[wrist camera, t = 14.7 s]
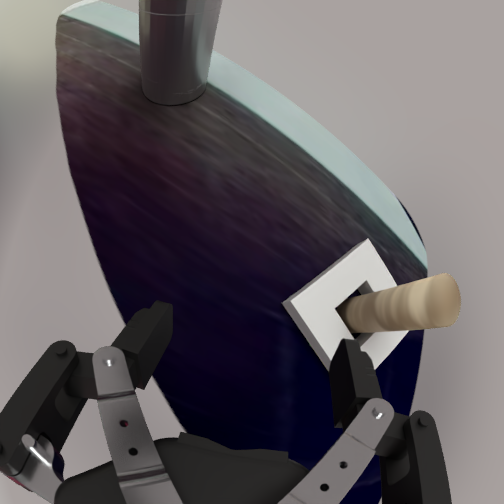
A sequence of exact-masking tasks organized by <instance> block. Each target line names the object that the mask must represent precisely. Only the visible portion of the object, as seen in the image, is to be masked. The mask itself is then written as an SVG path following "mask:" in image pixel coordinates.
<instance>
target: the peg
mask: <svg viewBox="0 0 504 504" xmlns="http://www.w3.org/2000/svg"><path fill="white" fill-rule="evenodd" d="M460 306H461V298H460V292H459V289H458V285H457V283H456V281H455V280H454V278H453V277H452V276H451V275H449V274H446V273H442V274H439V275H436V276H432V277H429V278H425V279H422V280H418V281H414V282H411V283H407V284H404V285H400V286H396V287H392V288H388V289H385V290H381V291H377V292H373V293H368V294H364V295H360V296H356V297H352V298H347V299H345V300H344V301H343V302H342V303H340V304H339V306H338V308H337V310H336V312H337V313H338V315H339V316H340V318H341V319H342V321H343V322H344V324H345V326H346V327H347V329H348V330H349V332H350V333H370V332H391V331H406V330H419V329H430V328H441V327H448V326H451V325H453V324H454V323H455V321H456V320H457V318H458V315H459V312H460Z"/></svg>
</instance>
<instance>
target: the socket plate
mask: <svg viewBox="0 0 504 504" xmlns="http://www.w3.org/2000/svg"><path fill="white" fill-rule="evenodd" d="M396 286H397V285H396V283H395V281H394V280H393V278H392V276H391V274H390V273H389V271H388V269H387V268H386V266H385V264H384V263H383V261H382V260H381V258H380V256H379V255H378V253H377V252H376V250H375V248H374V247H373V245H372V244H371V242H370V241H369V239H366V240H365V241H363V242H361V243H359V244H357V245H356V246H354V247H353V248H352V249H351V250H350V251H348V252H347V253H346V254H345V255H343V256H342V257H341V258H340V259H338V260H337V261H336V262H335V263H333V264H332V265H331V266H330V267H328V268H327V269H326V270H325V271H323V272H322V273H321V274H319V275H318V276H317V277H316V278H314V279H313V280H312V281H310V282H309V283H308V284H306V285H305V286H304V287H303V288H301V289H300V290H299V291H297V292H296V293H295V294H293V295H292V296H291V297H289V298H288V299H287V300H285V301H284V302H283V303H282V304H283V306H284V307H285V309H286V310H287V312H288V313H289V314H290V316H291V317H292V319H293V320H294V322H295V323H296V325H297V326H298V328H299V329H300V330H301V332H302V333H303V335H304V336H305V338H306V339H307V341H308V342H309V344H310V345H311V347H312V348H313V349H314V351H315V352H316V354H317V355H318V357H319V358H320V360H321V361H322V363H323V364H324V365H325V367H326V368H327V370H328V371H329V367H330V363H331V360H332V358H333V356H334V354H335V352H336V349H337V347H338V345H339V343H340V341H341V339H342V338H345V339H353V340H354V338H353V337H352V335H351V333H350V332H349V330H348V329H347V327H346V326H345V324H344V322H343V321H342V319H341V318H340V316H339V315H338V313H337V312H336V310H335V308H336V307H337V306H338V305H339V304H340V303H342V302H343V301H344V300H345V299H346V298H347V297H348V296H349V295H351V294H352V293H353V292H354V291H355V290H356V289H358V290H359V292H360V294H361V295H364V294H368V293H373V292H377V291H381V290H385V289H388V288H392V287H396ZM408 331H409V330H406V331H391V332H370V333H361V334H360V335H359V336H358V337H357V338H356V339H355V340H358V341H359V345H360V348H361V351H365V352H366V353H367V354H368V355H369V356H370V358H371V359H372V362H373V365H374V369H376V368H377V367H378V366H379V365H380V364H381V362H382V361H383V360H384V359H385V358H386V357H387V356H388V355H389V354H390V352H391V351H392V350H393V349H394V348H395V347H396V346H397V344H398V343H399V342H400V341H401V340H402V338H403V337H404V336H405V335H406V334H407V332H408Z"/></svg>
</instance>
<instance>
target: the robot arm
mask: <svg viewBox="0 0 504 504" xmlns="http://www.w3.org/2000/svg"><path fill="white" fill-rule="evenodd" d="M221 4H222V0H139V41H140V63H141V79H142V90H143V93H144V95H145V96H146V97H147V98H148V99H149V100H151V101H153V102H155V103H159V104H164V105H177V104H183V103H187V102H190V101H192V100H194V99H196V98H197V97H199V96H200V95H201V94H202V93H203V92H204V90H205V88H206V83H207V77H208V71H209V66H210V60H211V54H212V49H213V43H214V38H215V32H216V28H217V23H218V18H219V13H220V9H221ZM172 332H173V307H172V304H169V303H165V302H161V301H155V303H154V304H153V305H152V307H151V308H150V309H147V308H143V309H142V310H140V311H138V312H136V313H135V314H134V316H133V317H132V318H131V320H130V321H129V322H128V324H127V325H126V327H124V329H123V330H122V332H121V333H120V334H119V335H118V337H117V338H116V339H115V341H114V342H113V343H112V345H111V346H108V347H107V346H106V347H102V348H100V349H98V350H97V351H96V352H95V353H85V352H77V351H76V348H75V346H74V345H73V344H72V343H71V342H69V341H57V342H55V343H53V344H52V345H50V347H49V348H48V349H47V350H46V352H45V353H44V354H43V355H42V357H41V358H40V359H39V361H38V362H37V363H36V364H35V365H34V367H33V368H32V369H31V371H30V372H29V374H28V375H27V376H26V377H25V379H24V380H23V381H22V383H21V384H20V386H19V387H18V388H17V390H16V391H15V393H14V394H13V395H12V397H11V398H10V400H9V401H8V403H7V404H6V406H5V407H4V409H3V410H2V412H1V413H0V471H1V472H2V473H3V474H4V475H5V476H7V477H8V478H9V479H11V480H12V481H14V482H15V483H16V484H18V485H21V486H22V487H24V488H25V489H27V490H28V491H31V492H35V493H36V494H37V495H39V496H41V497H42V498H44V499H45V500H47V501H49V502H50V503H52V504H339V502H340V501H341V500H342V499H343V498H344V496H345V495H346V494H347V492H348V491H349V490H350V489H351V487H352V486H353V485H354V483H355V482H356V481H357V479H358V478H359V476H360V475H361V474H362V472H363V471H364V469H365V468H366V466H367V465H368V463H369V462H370V460H371V459H372V457H373V456H374V454H376V455H379V459H380V471H381V488H382V504H452V502H451V494H450V488H449V482H448V476H447V471H446V466H445V462H444V456H443V452H442V448H441V443H440V440H439V435H438V431H437V428H436V424H435V421H434V419H433V417H432V416H431V415H430V414H429V413H427V412H425V411H415V412H414V413H413V414H412V415H411V416H410V417H409V416H405V415H402V414H398V413H395V412H394V410H393V408H392V406H391V405H390V404H389V403H388V402H387V401H385V400H383V399H382V395H381V391H380V387H379V384H378V380H377V376H376V373H375V369H374V365H373V362H372V359H371V358H370V356H369V355H368V354H367V353H366V352H365V351H361V348H360V345H359V341H358V340H353V339H345V338H342V339H341V341H340V343H339V345H338V347H337V349H336V352H335V354H334V356H333V358H332V360H331V363H330V367H329V377H330V386H331V395H332V405H333V416H334V428H343V433H342V435H341V436H340V437H339V438H338V439H337V441H336V442H335V443H334V444H333V445H332V447H331V448H330V449H329V450H328V451H327V452H326V453H325V455H324V456H323V457H322V458H321V459H320V460H319V461H318V462H317V463H316V464H315V466H314V467H313V468H312V469H311V470H310V471H309V470H308V469H307V468H305V467H304V466H302V465H301V464H299V463H297V462H295V461H293V460H290V459H288V452H283V451H274V450H266V449H254V450H231V449H229V448H226V447H224V446H222V445H220V444H217V443H215V442H213V441H211V440H209V439H207V438H203V437H199V436H195V435H191V434H187V433H184V432H180V435H179V438H162V439H158V440H155V441H153V440H152V437H151V435H150V433H149V430H148V427H147V424H146V422H145V419H144V417H143V413H142V411H141V408H140V405H139V402H138V399H137V396H136V393H135V389H136V387H137V388H140V389H143V390H144V389H145V387H146V385H147V383H148V381H149V379H150V378H151V376H152V374H153V372H154V370H155V368H156V366H157V364H158V362H159V361H160V359H161V357H162V355H163V353H164V351H165V349H166V347H167V346H168V344H169V342H170V340H171V337H172ZM88 398H89V399H96V400H97V402H98V407H99V411H100V416H101V420H102V424H103V429H104V432H105V436H106V440H107V444H108V447H109V451H110V454H111V457H112V461H109V462H107V463H105V464H102V465H101V466H98V467H95V468H93V469H90V470H88V471H86V472H83V473H80V474H78V475H75V476H72V477H70V478H68V479H66V480H65V481H64V478H63V470H64V460H63V457H62V455H61V454H60V451H61V449H62V447H63V445H64V443H65V441H66V439H67V437H68V435H69V433H70V431H71V429H72V428H73V426H74V423H75V422H76V420H77V418H78V416H79V414H80V412H81V411H82V408H83V407H84V405H85V403H86V401H87V400H88Z"/></svg>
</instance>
